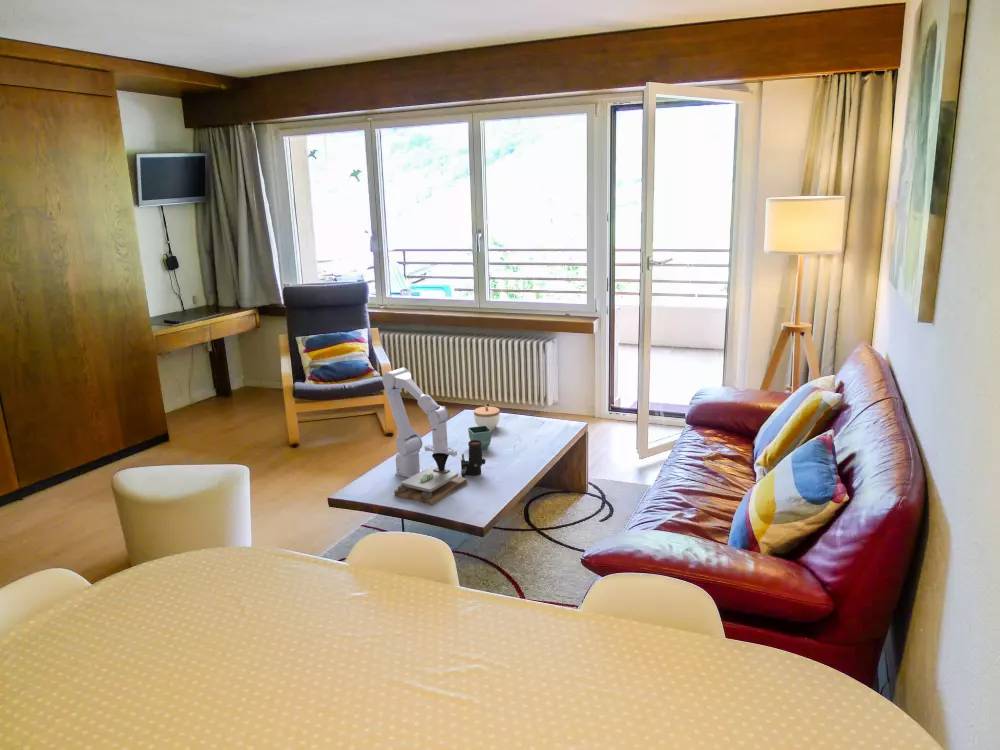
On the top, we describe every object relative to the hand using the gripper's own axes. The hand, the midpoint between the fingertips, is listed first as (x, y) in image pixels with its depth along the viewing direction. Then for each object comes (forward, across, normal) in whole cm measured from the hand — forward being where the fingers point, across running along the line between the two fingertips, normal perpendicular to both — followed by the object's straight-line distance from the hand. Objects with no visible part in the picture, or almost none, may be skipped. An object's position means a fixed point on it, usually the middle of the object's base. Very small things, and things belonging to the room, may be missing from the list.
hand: (441, 470), depth 281 cm
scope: (+6, +6, +13) cm, 16 cm away
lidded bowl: (+6, -20, +64) cm, 67 cm away
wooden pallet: (+6, 0, -7) cm, 9 cm away
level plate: (+2, 0, -8) cm, 8 cm away
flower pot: (+6, -8, +40) cm, 41 cm away
